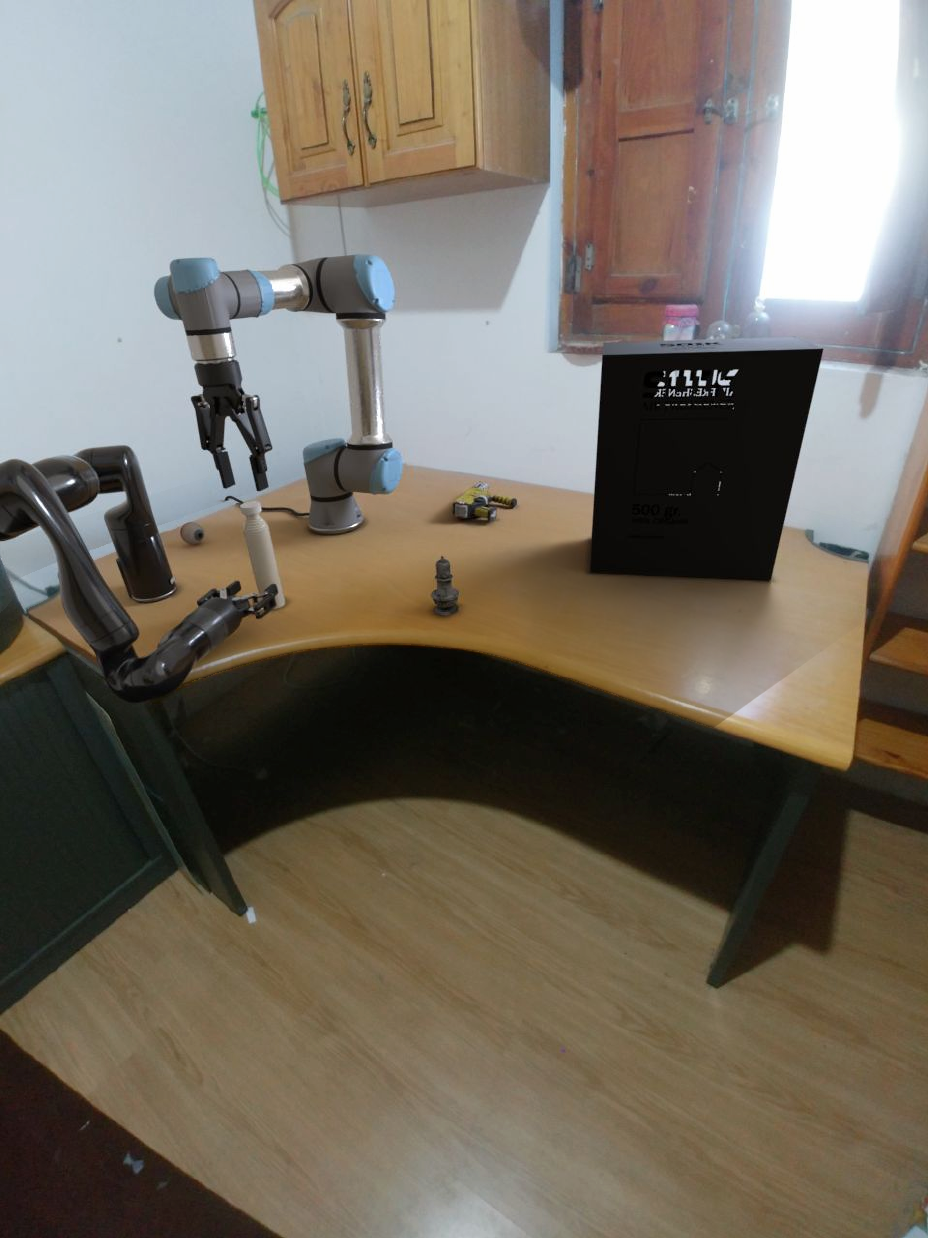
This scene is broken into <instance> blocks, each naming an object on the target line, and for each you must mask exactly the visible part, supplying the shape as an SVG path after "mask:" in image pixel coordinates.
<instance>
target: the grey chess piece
mask: <svg viewBox="0 0 928 1238" xmlns="http://www.w3.org/2000/svg"><path fill="white" fill-rule="evenodd" d="M453 578H454V576H453V574H452V572H451V562H450V560H448V559H446V558H445V556H444V555H441V556H440V559H438V560H436V561H435V576H434V579H435V580H436V588H435V589H434V590H432V591H431V592H430V598H431V599H432V602H433V603H434V605H435V606H434V607H433V613H434V614H436V615H438V616H452V615H455V614H456V613H458V612H459V610H460V606H459V605H458V604H457V602H458V600H459V596H460V594H461V593H460V591H459V589H457V588H456V587H453V581H452V579H453Z"/></svg>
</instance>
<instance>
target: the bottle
mask: <svg viewBox="0 0 928 1238" xmlns="http://www.w3.org/2000/svg"><path fill="white" fill-rule="evenodd" d="M244 516H245V518H244V523H243V526H242V533H243V536H244V539H245V544H246V548H247V553H248V555H249V561H250V564H251V568H252V571H253V576H254V580H255V584H256V588H257V593H261V592H263V591H264V590H265V589H266V588H268V587H269V586H270V585H271V584H276V585H277V588H278V594H277V595H276V596H275V600H276V604H277V606H276V607H275V608H273V609H272V610H271V611H273V610H278V609H280V608H282V607H284V606H285V605H286V602H287V601H286V598H285V594H284V588H283V585H282V580H281V576H280V571H279V567H278V563H277V558H276V554H275V550H274V544H273V541H272V537H271V536H272V535H271V532H270V531H271V530H270V527H269V525H268V522H266V520H265V519H264V518H263V516H261V514H260V513H257V514H254V515H244ZM262 599H263V597H261V598H259V601H261V600H262Z"/></svg>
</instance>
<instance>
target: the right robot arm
mask: <svg viewBox="0 0 928 1238" xmlns="http://www.w3.org/2000/svg"><path fill="white" fill-rule="evenodd" d="M169 272H170V274H169V275H165V276H164V275H163V276H161V277H159V278H158V279H157V280H156V282H155V284H154V287H153V297H154V300H155V304H156V306H157V308H158V309H159V311H160V312H161V313H162V314H163V315H164V316H165V317H166V318H168V319H170V320H174V321H182V325H183V329H184V332H185V336H186V340H187V345H188V350H189V352H190V356H191V360H192V361H195V362H196V363H194V366H193V368H194V372H195V376H196V381H197V384H198V385H199V386H200V387H202V393H199V394H196V395H192V396H190V401H191V403H192V406H193V408H194V411H195V417H196V424H197V425H196V426H197V429H198V430H197V432H198V436H199V442H200V447H201V449H202V451H208V452H209V453H210V454H211V455H212V459H213V462H214V467H215V469H216V470H217V471H218V473H219V477H220V481H221V485H222V488H223V489H224V490H225V489H229V488H231V487H234V486H235V485H236V480H235V476H234V472H233V468H232V463H231V460H230V455H229V452H228V451H227V448H226V447H225V427H226V419H227V417H229V418H230V420H231V421H232V422H233V423H235V426H236V427H237V429H238V431H239V433H240V434H241V436H242V438H243V440H244V442H245V444H246V446H247V448H248V449H249V452H250V453H251V454H250V455H249V456H248V459H249V463H250V468H251V471H252V472H251V473H252V476H253V480H254V485H255V490H256V492H262V491H264V490H266V489H268V488H269V487H270V486H269V481H268V477H267V474H266V472H268V465H267V460H266V455H265V454H266V453H268V452H270V451H272V450H273V444H272V442H271V438H270V435H269V432H268V429H267V426H266V423H265V419H264V416H263V413H262V410H261V398H260V396H259V395H258V394H254V395H251V394H246V392H245V391H244V389H243V387H242V382H243V376H242V370H241V365H240V362H239V361H238V360H237V359H235V358H236V357H237V355H238V354H237V349H236V345H235V340H234V335H233V332H232V325H231V321H232V320H238V319H239V320H240V319H249V318H256V319H258V318H259V317H262V316H265V315H268V314H269V313H270V312H271V311H276V310H283V309H286V310H287V311H289V312H292V313H299V312H306V313H308V312H309V313H320V314H335V320H336V321H335V322H336V323H337V324H338V325H339V326H340V327H341V328H342V330H343V338H344V339H343V340H344V352H345V353H344V354H345V364H346V365H345V366H346V376H347V377H346V379H347V391H348V399H349V400H348V403H349V414H350V425H351V426H350V427H351V434H350V436H349V437H348V438H347V439H345V438H341V437H340V438H339V437H337V438H330V439H329V438H328V439H323V440H320V441H317V442H313V443H309V444H308V445H306V446H305V447H304V448H303V450H302V457H303V458H302V460H303V467H304V472H305V477H306V482H307V486H308V492H309V498H310V507H309V512H297V511H295V510H294V509H293V508H290V507H284V506H281V507H280V506H278V507H277V506H275V507H274V506H273V507H262V506H261V509H262V511H286V512H291V513H292V514H293V515H295V516H297V517H308V521H307V522H308V523H307V524H308V528H309V529H308V530H310V531H311V532H312V533H314V534H317V535H323V536H324V535H325V536H327V535H329V536H331V535H339V534H340V535H341V534H345V533H350V532H353V531H355V530H357V529H359V528H361V527H362V526H363V525H364V523H365V519H364V514H363V512H362V508H361V505H359V504H358V501H357V500H356V498H355V495H354V493H361V494H371V495H374V496H377V495H389V494H391V493H392V492H394V491H395V490H396V489H397V487H398V486H399V483H400V481H401V479H402V475H403V469H404V461H403V456H402V455H401V452H400V451H399V450H398V449H396V448H394V443H393V438H391V437H390V436H389V434H388V433H387V426H386V409H385V407H386V406H385V390H384V389H385V388H384V376H383V375H384V371H383V358H382V356H383V355H382V340H381V339H382V338H381V329H382V327H383V326H384V324H386V322H387V317H386V316H387V315H386V313H389V312H390V311H391V310H392V309H393V307H394V302H395V299H396V297H395V295H396V294H395V293H396V292H395V287H394V286H395V285H394V281H393V277H392V275H391V272H390V270H389V268H388V267H387V264H386V263H385V262H384V261H383V259H381V257H379V256H377V255H376V254H362V253H360V254H359V253H357V254H349V255H337V256H324V257H317V258H312V259H309V260H305V261H301V262H296V263H286V264H283V265H281V266H280V267H278V269H270V270H269V269H268V270H250V269H248V268H247V269H242V270H227V271H226V270H225V271H224V270H223V271H221V270H220V269H219V267H218V263H217V261H216V259H214V258H212V257H185V258H175V259H173V260H171V261H170V263H169ZM229 499H231V500H234V501H235V502H237V503H239V504H240V505H241V504H243V503H245V502H243V500H241V499H239V498H237V497H235V496H233V495H227V496H225V498H224V501H228V500H229Z"/></svg>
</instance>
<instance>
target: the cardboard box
mask: <svg viewBox="0 0 928 1238" xmlns="http://www.w3.org/2000/svg"><path fill="white" fill-rule="evenodd" d="M601 353H602V355H601V371H600V388H599V389H600V390H599V405H598V423H597V439H596V454H595V455H596V456H595V472H594V473H595V474H594V487H593V488H594V491H593V505H592V506H593V509H592V526H591V540H590V541H591V543H590V559H589V574H614V575H637V576H638V575H641V576H660V577H663V576H664V577H686V578H708V579H709V578H710V579H730V580H731V579H733V580H735V579H736V580H754V581H755V580H756V581H757V580H758V581H772V577H773V573H774V569H775V565H776V560H777V557H778V556H777V555H778V551H779V548H780V543H781V537H782V534H783V529H784V526H785V520H786V515H787V511H788V507H789V502H790V499H791V495H792V489H793V486H794V481H795V476H796V472H797V467H798V464H799V459H800V454H801V451H802V445H803V441H804V436H805V433H806V428H807V424H808V419H809V415H810V412H811V411H810V410H811V406H812V403H813V397H814V392H815V388H816V384H817V380H818V376H819V371H820V366H821V361H822V359H823V358H822V357H823V353H824V347H821V346H818V345H816V344H813V343H811V342H808V341H805V340H804V339H801V338H798V337H796V336H771V337H769V336H768V337H766V336H765V337H737V338H708V339H707V338H706V339H679V340H678V339H675V340H673V339H672V340H649V341H648V340H645V341H617V342H616V341H615V342H614V341H613V342H603V343H602V352H601ZM736 370H737V371H736ZM677 371H678V375H677V376H676V377H675V382H674V383H675V385H672V383H673V376H671V374H672V373H674V372H677ZM685 371H689V372H690V374H689V382H691V385H687V379H688V377H687V375H685ZM699 371H701V373H700V375H698V372H699ZM715 371H716V375H715ZM733 371H736V373H734V375H729V373H730V372H733ZM714 375H715V376H716V377H715V380H714ZM719 377H720V378H719ZM700 381H701V382H705V385H700ZM713 381H715V382H714V383H713ZM719 381H729V382H728V384H725V385H724V384H720V383H719ZM660 383H663V384H664V385H660Z"/></svg>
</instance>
